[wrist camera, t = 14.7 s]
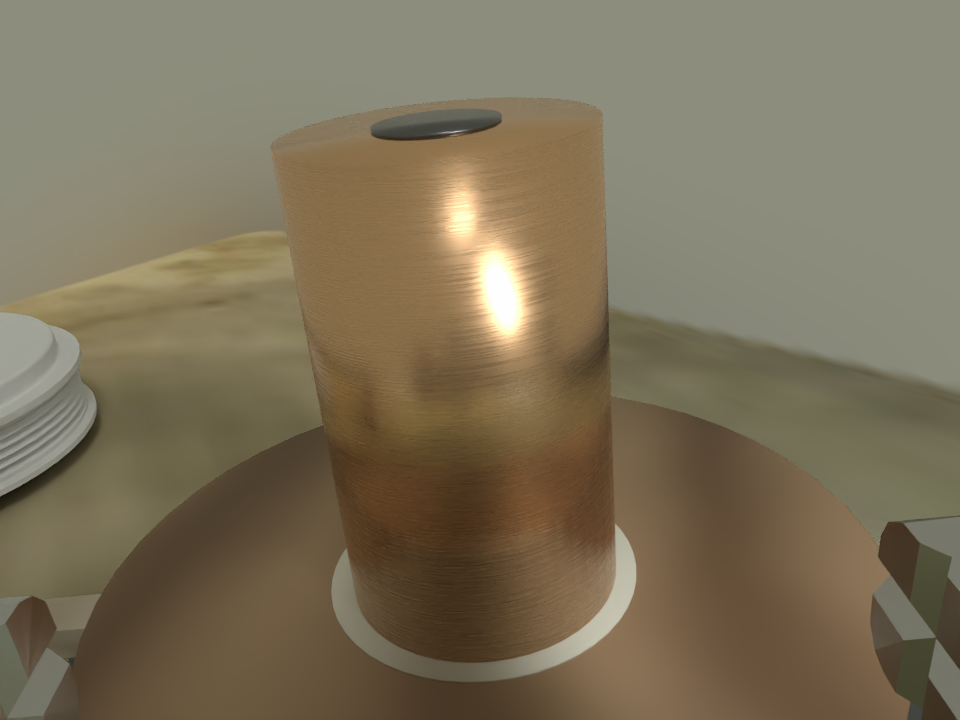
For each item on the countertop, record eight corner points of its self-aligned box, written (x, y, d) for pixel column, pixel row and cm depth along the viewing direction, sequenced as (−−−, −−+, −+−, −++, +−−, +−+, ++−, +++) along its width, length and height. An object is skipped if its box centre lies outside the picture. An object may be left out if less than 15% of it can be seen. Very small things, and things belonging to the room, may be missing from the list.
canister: (594, 482, 23) (577, 83, 19) (640, 647, 17) (632, 133, 13) (366, 505, 23) (297, 111, 19) (341, 676, 17) (235, 173, 13)
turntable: (744, 405, 29) (746, 366, 28) (1137, 986, 13) (1162, 920, 12) (159, 458, 29) (149, 419, 28) (-208, 1108, 13) (-253, 1050, 12)
